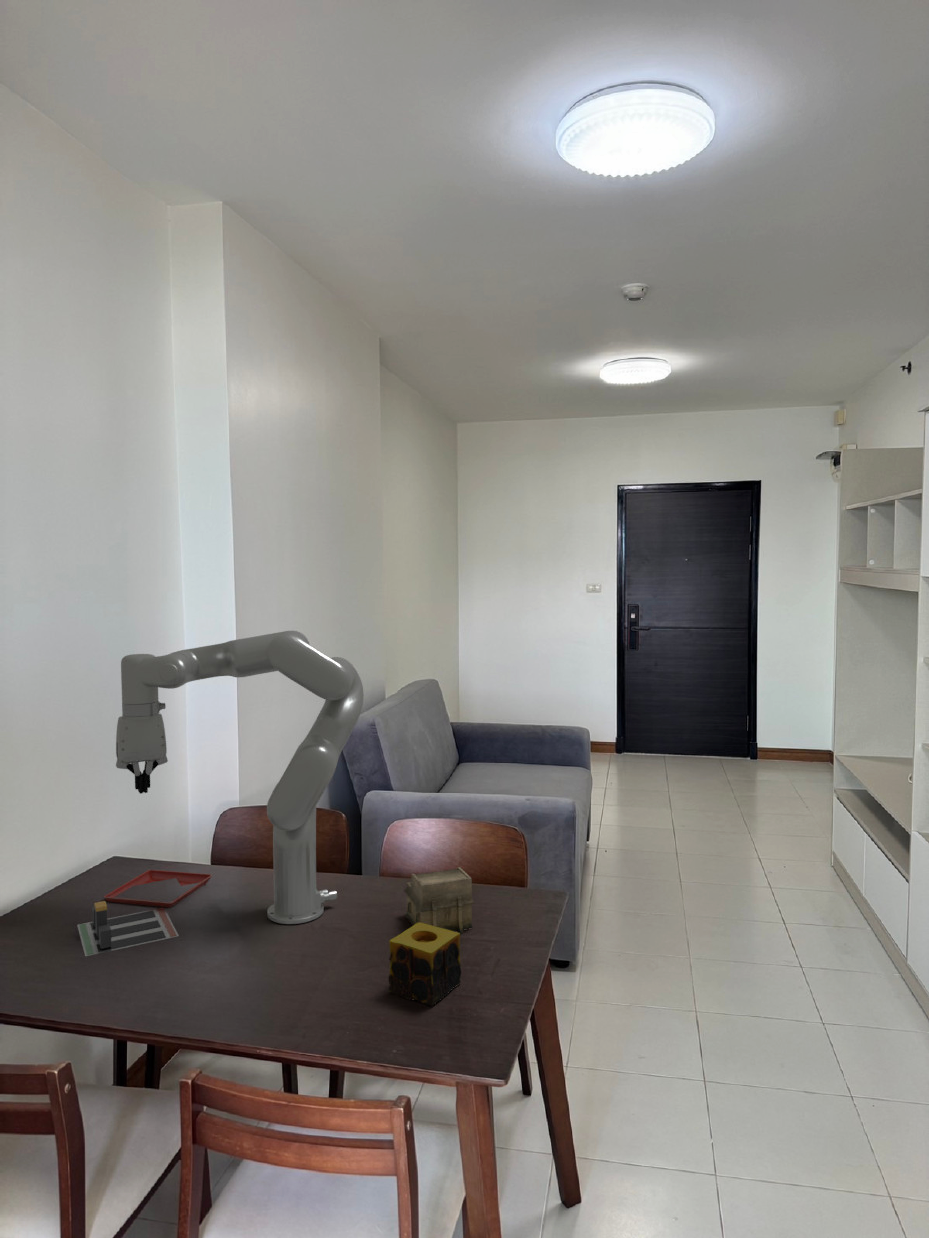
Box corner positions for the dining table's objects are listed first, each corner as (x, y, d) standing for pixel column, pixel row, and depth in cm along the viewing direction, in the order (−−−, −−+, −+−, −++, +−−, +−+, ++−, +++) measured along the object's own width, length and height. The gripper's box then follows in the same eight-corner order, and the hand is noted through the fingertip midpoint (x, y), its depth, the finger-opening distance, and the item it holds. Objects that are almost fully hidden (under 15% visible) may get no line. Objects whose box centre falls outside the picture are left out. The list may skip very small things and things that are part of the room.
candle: (432, 1008, 147) (432, 954, 147) (387, 993, 152) (386, 940, 152) (462, 984, 156) (462, 932, 155) (418, 970, 161) (418, 920, 160)
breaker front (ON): (109, 940, 170) (109, 924, 170) (111, 946, 168) (111, 929, 167) (99, 942, 169) (98, 926, 169) (100, 948, 167) (100, 931, 166)
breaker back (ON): (102, 919, 180) (102, 903, 180) (104, 924, 178) (103, 908, 178) (92, 921, 179) (92, 905, 179) (94, 926, 177) (93, 910, 177)
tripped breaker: (106, 929, 175) (105, 900, 175) (107, 935, 173) (107, 905, 172) (95, 931, 174) (94, 902, 174) (97, 937, 172) (96, 907, 171)
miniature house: (484, 931, 179) (484, 879, 178) (422, 941, 174) (422, 888, 173) (460, 905, 193) (459, 857, 192) (402, 914, 188) (401, 865, 187)
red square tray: (102, 909, 191) (102, 895, 191) (149, 881, 209) (149, 868, 209) (171, 917, 187) (171, 902, 187) (213, 887, 205) (213, 874, 204)
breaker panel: (164, 913, 188) (163, 906, 188) (179, 942, 173) (178, 935, 173) (77, 931, 179) (77, 924, 179) (85, 963, 164) (85, 955, 164)
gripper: (172, 704, 189) (174, 783, 190) (101, 710, 182) (104, 792, 183) (179, 709, 183) (181, 791, 184) (106, 715, 175) (108, 800, 176)
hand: (142, 791), depth 183 cm, fingers closed
